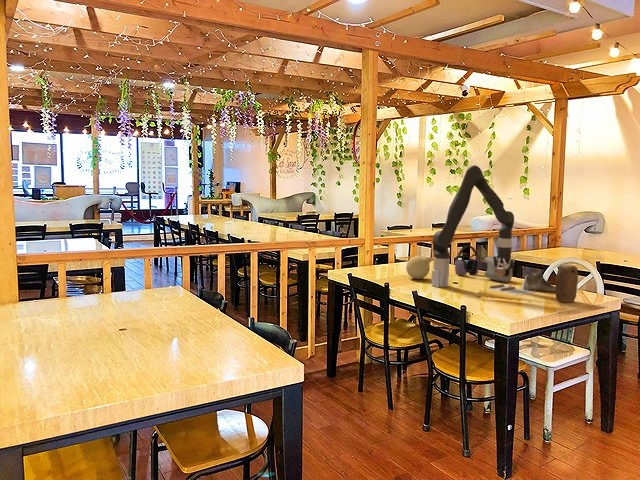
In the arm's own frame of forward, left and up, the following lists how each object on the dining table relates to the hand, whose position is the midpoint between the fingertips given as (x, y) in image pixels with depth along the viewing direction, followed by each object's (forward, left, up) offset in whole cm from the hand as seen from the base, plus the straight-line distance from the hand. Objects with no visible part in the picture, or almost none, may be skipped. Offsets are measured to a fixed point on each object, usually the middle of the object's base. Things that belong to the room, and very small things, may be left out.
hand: (503, 275), depth 302 cm
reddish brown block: (0, 0, -1) cm, 1 cm away
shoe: (+16, -17, -10) cm, 25 cm away
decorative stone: (+24, +23, -9) cm, 34 cm away
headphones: (+21, +47, -9) cm, 52 cm away
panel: (0, -6, -9) cm, 11 cm away
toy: (-19, +51, -9) cm, 56 cm away
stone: (+8, -35, -9) cm, 37 cm away
